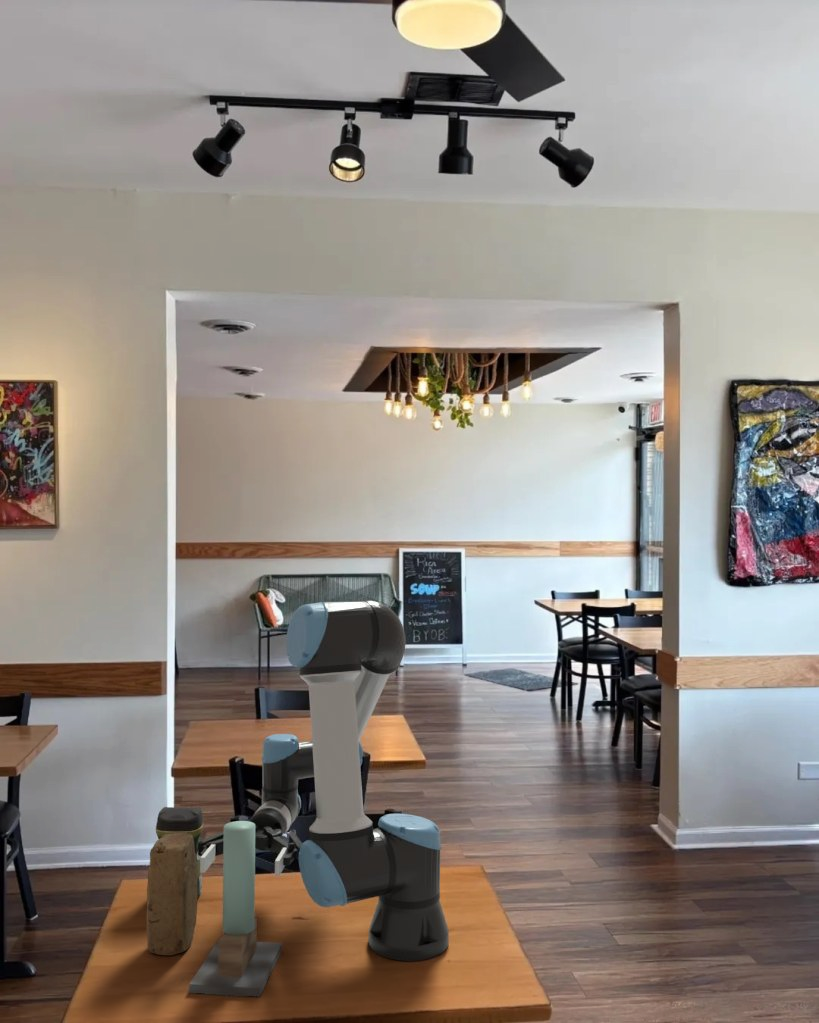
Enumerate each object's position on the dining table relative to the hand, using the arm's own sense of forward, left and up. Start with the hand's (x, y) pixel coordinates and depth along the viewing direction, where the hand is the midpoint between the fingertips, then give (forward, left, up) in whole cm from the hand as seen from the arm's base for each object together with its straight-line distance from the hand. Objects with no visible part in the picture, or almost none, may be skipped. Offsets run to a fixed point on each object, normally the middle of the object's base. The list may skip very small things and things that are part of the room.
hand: (239, 866), depth 160 cm
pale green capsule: (-1, +2, -10) cm, 10 cm away
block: (+15, -4, -18) cm, 24 cm away
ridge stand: (-1, +2, -18) cm, 18 cm away
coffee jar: (+25, -23, -18) cm, 39 cm away
